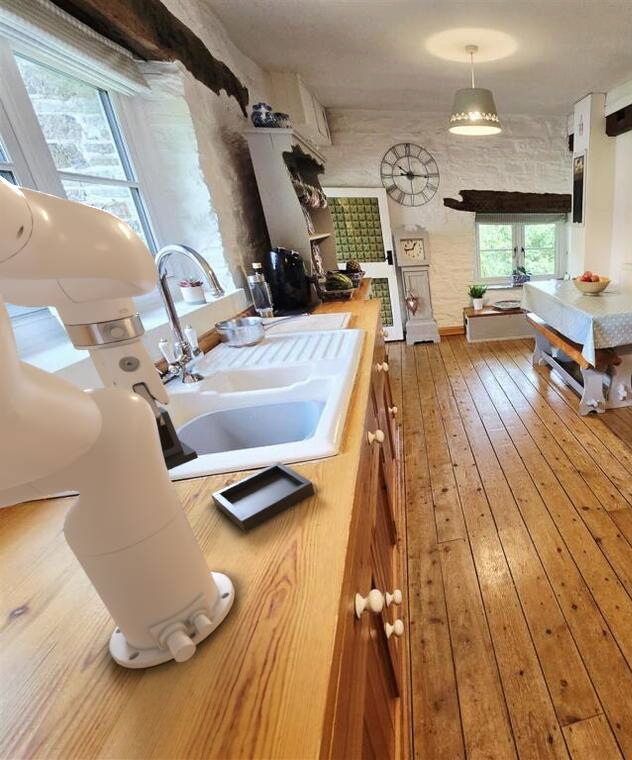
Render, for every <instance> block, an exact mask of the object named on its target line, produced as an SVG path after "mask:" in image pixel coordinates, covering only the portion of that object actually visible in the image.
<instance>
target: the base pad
mask: <svg viewBox="0 0 632 760" xmlns="http://www.w3.org/2000/svg"><path fill="white" fill-rule="evenodd" d="M313 494H315V490H314V485H313V482H312V481H311V480H309V479H307V478H305V477H304V476H303V475H301V474H299V473H297V472H296V471H295V470H293V469H291V468H290V467H288V466H287V465H285V464H283V463H282V462H281V461H277V462H275V463H274V464H271V465H269V466H267V467H265V468H263V469H261V470H259V471H256V472H254V473H253V474H250V475H248V476H247V477H244V478H241V479H240V480H238V481H235V482H234V483H232V484H230V485H228V486H226V487H223V488H222V489H220V490H218V491H216V492H213V493H211V494H210V495H211V498H212V501H213V504H214V505H215V506H216V507H217V508H218V509H219V510H220V511H221V512H222V513H223V514H225V515H226V516H227V518H229V519H230V520H231V521H232V522H234V524H236V525H237V526H238V527H239V528H240V529H241V530H242V531H244V533H247V532H249V531H251V530H252V529H254V528H256V527H257V526H259V525H261V524H263V523H264V522H266V521H268V520H269V519H271V518H274V516H275V517H276V516H277V515H279V514H280V513H282V512H283V511H286V510H287V509H289V508H291V507H292V506H294V505H295V504H297V503H299V502H301V501H303V500H304V499H306V498H308V497H309V496H311V495H313Z"/></svg>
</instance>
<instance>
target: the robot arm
mask: <svg viewBox="0 0 632 760" xmlns="http://www.w3.org/2000/svg"><path fill="white" fill-rule="evenodd" d="M158 271H159V270H158V267H157V264H156V261H155V259H154V257H153V254H152V253H151V251H150V249H149V248H148V246H147V245H146V242H145V241H143V239H141V237H140V236H139V235H138V234H137V233H136V232H135V230H134V229H132V228H131V226H130V225H129V224H128V223H127V222H125V221H124V220H123V219H122V218H120V217H119V216H117V215H115V214H113V213H112V212H110V211H107V210H105V209H103V208H99V207H95V206H93V205H91V204H90V205H89V204H85V203H82V202H78V201H75V200H71V199H67V198H63V197H60V196H56V195H53V194H50V193H49V194H48V193H45V192H42V191H39V190H34V189H31V188H27V187H22V186H18V185H14V184H12V183H10V182H9V181H8V180H7V179H5V178H4V177H2V176H1V175H0V509H3V508H7V507H10V506H15V505H18V504H22V503H25V502H29V501H33V500H37V499H40V498H44V497H47V496H54V495H58V494H62V493H67V492H78V493H79V494H78V496H77V497H76V499H75V500H74V502H73V503H72V505H71V506H70V508H69V509H68V512H67V514H66V516H65V518H64V522H63V536H64V538H65V541H66V543H67V545H68V546H69V549H70V550H71V552H72V553H73V555H74V557H75V558H76V560H77V561H78V563H79V565H80V566H81V568H82V570H83V571H84V573H85V575H86V576H87V578H88V580H89V582H90V583H91V585H92V586H93V588H94V589H95V592H96V593H97V595H98V596H99V598H100V599H101V602H102V603H103V605H104V606H105V608H106V609H107V612H108V614H109V615H110V616H111V618H112V620H113V621H114V623H115V625H116V626H115V628H114V630H113V632H112V633H111V636H110V639H109V643H108V647H109V653H110V655H111V657H112V658H113V660H114V661H115V663H116V664H118V665H119V666H121V667H123V668H127V669H144V668H149V667H153V666H157V665H160V664H163V663H166V662H169V661H170V660H173V659H174V660H175V662H176V663H183V662H186V661H188V660H189V659H191V658H192V657H193V656H194V654H195V652H196V651H197V645H199V643H201V642H202V641H204V640H205V639H206V638H207V637H209V635H210V634H212V633H213V632H214V631H215V630H216V629H217V628H218V626H219V625H220V624H221V623H222V622H223V621H224V619H225V618H226V617H227V615H228V614H229V612H230V610H231V608H232V606H233V604H234V600H235V588H234V585H233V582H232V581H231V579H230V578H229V577H228V576H227V575H226V574H223V573H220V572H216V571H211V569H210V567H209V564H208V563H207V560H206V558H205V556H204V553H203V550H202V548H201V546H200V544H199V541H198V540H197V537H196V535H195V533H194V530H193V528H192V525H191V523H190V521H189V518H188V516H187V514H186V512H185V510H184V507H183V505H182V503H181V500H180V498H179V496H178V493H177V492H176V489H175V486H174V484H173V480H172V479H171V477H170V474H169V470H167V467H166V464H165V460H164V456H163V452H162V451H165V450H167V449H170V448H172V447H174V443H173V440H172V438H171V435H170V433H169V430H168V428H167V426H166V423H165V422H164V420H163V418H162V415H161V413H160V411H159V408H158V407H159V406H158V403H159V404H161V405H165V406H167V405H170V402H171V398H170V395H169V393H168V391H167V388H166V387H165V384H164V382H163V380H162V377H161V375H160V374H159V371H158V369H157V367H156V365H155V363H154V361H153V359H152V357H151V354H150V353H149V351H148V349H147V347H146V346H145V343H144V342H143V341H142V340H144V339H145V338H147V336H148V335H147V333H146V330H145V327H144V325H143V323H142V320H141V317H140V315H139V311H138V309H137V307H136V304H135V302H134V299H133V298H136V297H142V296H146V295H148V294H150V293H151V292H153V290H155V288H156V286H157V285H158V282H159V281H158V280H159V272H158ZM6 303H7V304H10V305H13V306H17V307H23V308H46V307H55V310H56V312H57V314H58V317H59V318H60V320H61V323H62V324H63V327H64V329H65V331H66V333H67V335H68V337H69V340H70V342H71V344H72V346H73V348H74V349H75V350H77V351H88V354H89V356H90V358H91V361H92V363H93V366H94V367H95V370H96V372H97V374H98V377H99V378H100V380H101V382H102V384H103V387H97V388H87V389H82V388H81V387H79V386H78V385H76V384H75V383H72V382H70V381H68V380H67V379H64V378H63V377H61V376H59V375H56V374H55V373H52V372H50V371H47V370H45V369H43V368H40V367H38V366H36V365H33V364H31V363H28V362H26V361H24V360H21V359H20V358H19V352H18V346H17V341H16V336H15V332H14V328H13V325H12V321H11V317H10V314H9V312H8V309H7V305H6ZM157 402H158V403H157Z"/></svg>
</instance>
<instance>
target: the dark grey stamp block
mask: <svg viewBox="0 0 632 760" xmlns="http://www.w3.org/2000/svg"><path fill="white" fill-rule="evenodd" d="M158 408H159V411H160V413H161V415H162V418H163V420H164V422H165V423H166V426H167V428H168V430H169V433H170V435H171V438H172V440H173V443H174V447H172V448H170V449H167V450H165V451H162V452H163V456H164V460H165V464H166V467H167V470H168V471H170V470H172V469H174V468H177V467H179V466H182V465H184V464H187V463H190V462H192V461H194V460H196V459H198V458H199V456H198V453H197V451H196V450H194V449H193V448H192V447H190V446H189V445H187V444H186V443H185V442H183V441H182V440H181V439H179V436H178V433H177V431H176V429H175V426H174V424H173V421H172V418H171V417H170V413H169V411H168V410H167V409H165V408H163V406H158Z"/></svg>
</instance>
